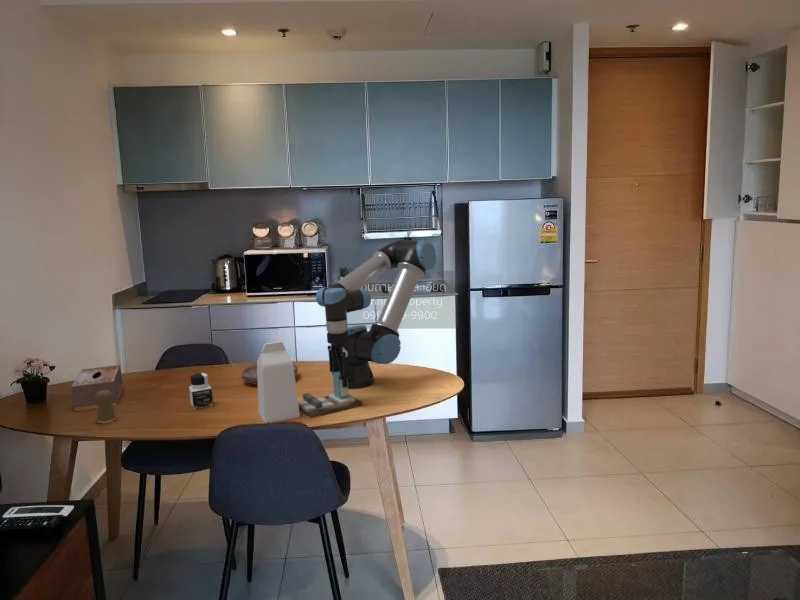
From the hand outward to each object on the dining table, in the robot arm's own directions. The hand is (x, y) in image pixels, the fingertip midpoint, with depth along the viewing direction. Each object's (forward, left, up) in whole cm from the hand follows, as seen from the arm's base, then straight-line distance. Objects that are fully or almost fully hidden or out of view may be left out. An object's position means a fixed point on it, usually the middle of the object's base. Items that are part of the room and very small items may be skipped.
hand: (341, 393), depth 223 cm
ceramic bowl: (-46, -10, -4) cm, 47 cm away
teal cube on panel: (0, 0, -2) cm, 2 cm away
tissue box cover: (-67, -73, -4) cm, 99 cm away
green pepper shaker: (-37, -74, -4) cm, 83 cm away
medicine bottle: (-32, -42, -4) cm, 53 cm away
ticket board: (0, -5, -4) cm, 7 cm away
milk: (-3, -23, -4) cm, 24 cm away
